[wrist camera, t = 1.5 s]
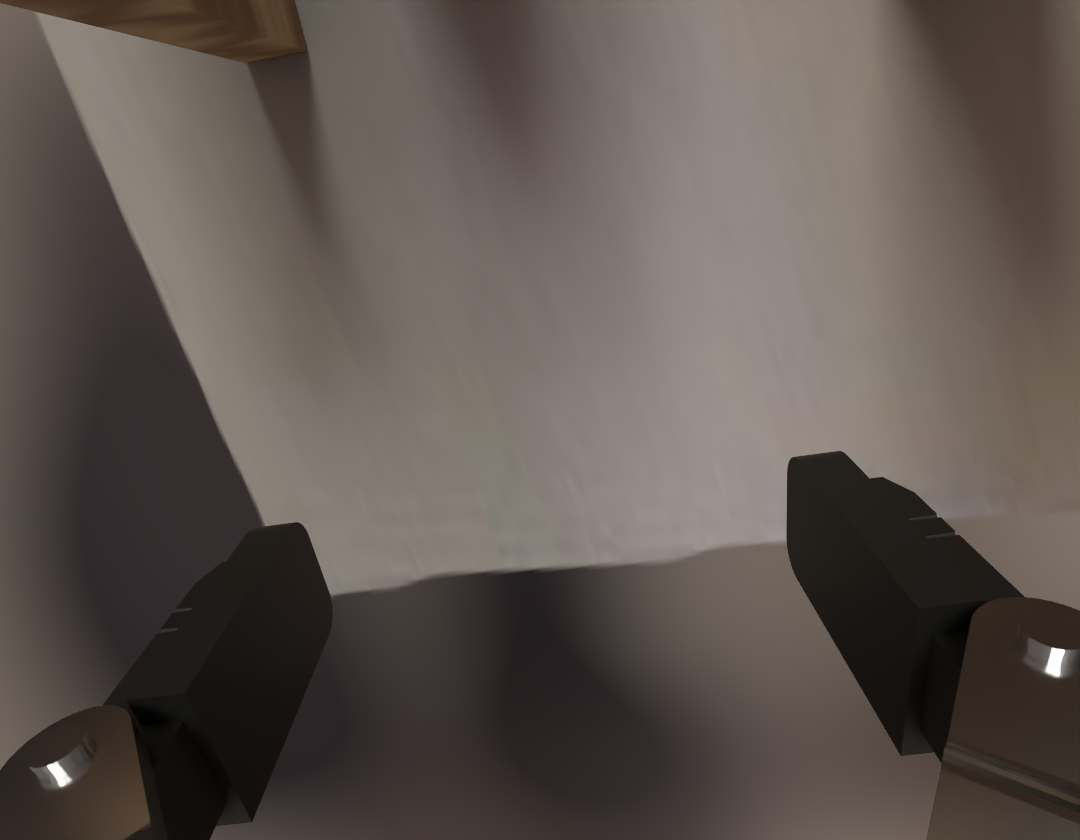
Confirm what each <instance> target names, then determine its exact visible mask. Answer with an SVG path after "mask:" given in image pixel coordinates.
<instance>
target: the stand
mask: <svg viewBox="0 0 1080 840" xmlns="http://www.w3.org/2000/svg"><path fill="white" fill-rule="evenodd" d="M0 3H3V4H7V5H11V6H15V7H19V8H23V9H27V10H31V11H35V12H39V13H43V14H48V15H52V16H56V17H60V18H64V19H68V20H72V21H76V22H80V23H84V24H88V25H93V26H97V27H101V28H105V29H109V30H113V31H117V32H121V33H125V34H129V35H133V36H137V37H142V38H146V39H150V40H154V41H158V42H162V43H166V44H170V45H174V46H178V47H182V48H187V49H191V50H195V51H199V52H203V53H207V54H211V55H215V56H219V57H223V58H227V59H232V60H236V61H240V62H244V63H246V62H252V61H257V60H263V59H268V58H274V57H279V56H284V55H290V54H295V53H301V52H306V51H307V49H306V45H305V41H304V38H303V34H302V30H301V26H300V23H299V19H298V15H297V11H296V8H295V4H294V0H0Z"/></svg>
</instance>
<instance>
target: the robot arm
mask: <svg viewBox="0 0 1080 840" xmlns="http://www.w3.org/2000/svg"><path fill="white" fill-rule="evenodd" d="M787 548H788V554H789V558H790V562H791V566H792V569H793V571H794V574H795V576H796V577H797V580H798V581H799V583H800V585H801V586H802V588H803V590H804V592H805V593H806V595H807V597H808V598H809V600H810V602H811V603H812V605H813V607H814V609H815V610H816V612H817V614H818V615H819V617H820V619H821V621H822V622H823V624H824V626H825V627H826V629H827V631H828V632H829V634H830V636H831V638H832V639H833V641H834V643H835V644H836V646H837V648H838V650H839V651H840V653H841V655H842V656H843V658H844V660H845V661H846V663H847V665H848V667H849V668H850V670H851V672H852V673H853V675H854V677H855V678H856V680H857V682H858V683H859V685H860V687H861V689H862V690H863V692H864V694H865V696H866V697H867V699H868V701H869V702H870V704H871V706H872V707H873V709H874V711H875V712H876V714H877V716H878V718H879V719H880V721H881V723H882V724H883V726H884V728H885V730H886V731H887V733H888V735H889V736H890V738H891V740H892V742H893V743H894V745H895V747H896V748H897V750H898V752H899V753H900V755H901V756H904V755H913V754H922V753H931V752H935V754H936V756H937V757H938V759H939V760H940V762H941V768H940V772H939V777H938V783H937V787H936V793H935V798H934V803H933V808H932V813H931V818H930V823H929V828H928V833H927V839H926V840H1080V611H1079V610H1077V609H1074V608H1072V607H1069V606H1066V605H1063V604H1059V603H1055V602H1052V601H1047V600H1042V599H1036V598H1027V597H1024V596H1023V595H1022V594H1021V593H1020V592H1019V591H1018V590H1017V589H1016V588H1015V587H1014V586H1013V585H1012V584H1011V583H1009V582H1008V581H1007V580H1006V579H1005V578H1004V577H1003V576H1002V575H1001V574H1000V573H999V572H998V571H997V570H996V569H995V568H994V567H993V566H992V565H990V564H989V563H988V562H987V561H986V560H985V559H984V558H983V557H982V556H981V555H980V554H979V553H978V552H977V551H976V550H975V549H973V548H972V547H971V546H970V545H969V544H968V543H967V542H966V541H965V540H964V539H963V538H962V537H961V536H960V535H957V536H956V535H955V530H953V529H952V528H951V527H950V526H949V525H948V524H947V523H946V522H945V521H944V520H943V519H942V518H941V517H940V518H937V515H936V512H935V511H933V510H932V509H931V508H930V507H929V506H928V505H927V504H926V503H925V502H924V501H923V500H922V499H921V498H920V497H919V496H918V495H917V494H915V493H914V492H912V491H910V490H908V489H906V488H904V487H902V486H900V485H898V484H896V483H894V482H892V481H890V480H888V479H885V478H883V477H879V478H871V479H869V478H868V476H867V475H866V474H865V473H864V472H863V471H862V470H861V469H860V468H859V467H858V466H857V465H856V464H855V463H854V462H853V461H852V460H851V459H850V458H849V457H848V456H847V455H846V454H845V453H844V452H842V451H836V452H828V453H821V454H813V455H806V456H798V457H793V458H791V459H790V461H789V464H788V471H787ZM176 610H177V611H176V613H172V614H171V616H170V617H169V618H168V620H167V621H166V622H165V623H164V625H163V626H162V627H161V633H158V634H156V635H155V637H154V638H153V639H152V641H151V642H150V643H149V645H148V646H147V647H146V649H145V650H144V651H143V653H142V654H141V655H140V656H139V658H138V659H137V661H136V662H135V663H134V664H133V666H132V667H131V668H130V670H129V671H128V672H127V674H126V675H125V676H124V678H123V679H122V680H121V682H120V683H119V684H118V685H117V687H116V688H115V689H114V691H113V692H112V693H111V695H110V696H109V697H108V699H107V700H106V701H105V703H104V704H103V705H102V706H95V707H91V708H87V709H84V710H81V711H78V712H75V713H73V714H71V715H69V716H67V717H64V718H62V719H60V720H59V721H57V722H55V723H53V724H52V725H50V726H48V727H47V728H45V729H44V730H42V731H41V732H39V733H38V734H36V735H35V736H34V737H33V738H31V739H30V740H29V741H27V742H26V743H25V744H24V745H23V746H22V747H20V748H19V749H18V750H17V751H16V752H15V753H14V754H13V755H12V756H11V757H10V758H9V760H8V761H7V762H6V763H5V765H4V766H3V767H2V768H1V770H0V840H210V837H211V835H212V833H213V831H214V829H215V827H216V826H220V825H229V824H239V823H248V822H252V821H253V818H254V816H255V814H256V811H257V809H258V806H259V804H260V802H261V799H262V797H263V794H264V792H265V789H266V787H267V785H268V782H269V779H270V777H271V775H272V772H273V770H274V768H275V765H276V763H277V760H278V758H279V755H280V753H281V750H282V748H283V746H284V743H285V741H286V738H287V736H288V734H289V731H290V729H291V726H292V724H293V722H294V719H295V717H296V714H297V712H298V709H299V707H300V705H301V702H302V699H303V697H304V695H305V692H306V690H307V688H308V685H309V683H310V680H311V678H312V675H313V673H314V670H315V668H316V666H317V663H318V661H319V658H320V656H321V653H322V651H323V649H324V646H325V644H326V641H327V639H328V636H329V634H330V631H331V626H332V617H333V616H332V615H333V614H332V613H333V611H332V602H331V597H330V593H329V591H328V588H327V585H326V582H325V580H324V577H323V574H322V571H321V568H320V566H319V563H318V560H317V557H316V555H315V552H314V549H313V546H312V543H311V541H310V538H309V535H308V533H307V531H306V529H305V528H304V526H303V525H302V524H300V523H297V522H295V523H287V524H280V525H272V526H265V527H258V528H253V529H251V530H249V531H248V533H247V534H246V535H245V536H244V538H243V539H242V540H241V542H240V543H239V545H238V546H237V547H236V549H235V550H234V552H233V553H232V554H231V556H230V557H229V558H228V560H227V561H226V562H222V563H220V564H219V565H218V566H217V567H215V568H214V569H213V570H211V571H210V572H209V573H208V574H207V575H205V576H204V577H203V578H201V579H200V580H199V581H198V582H196V583H195V584H194V585H193V587H192V588H191V589H190V591H189V592H188V594H187V595H186V596H185V597H184V599H183V600H182V601H181V603H180V604H179V605H178V606H177V608H176Z"/></svg>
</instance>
